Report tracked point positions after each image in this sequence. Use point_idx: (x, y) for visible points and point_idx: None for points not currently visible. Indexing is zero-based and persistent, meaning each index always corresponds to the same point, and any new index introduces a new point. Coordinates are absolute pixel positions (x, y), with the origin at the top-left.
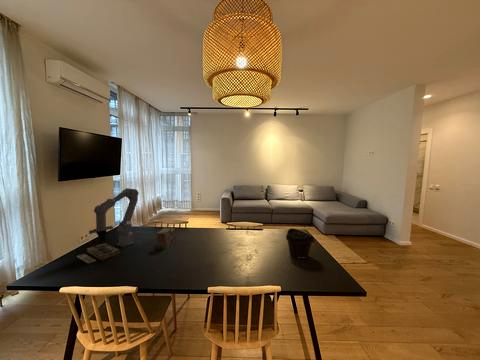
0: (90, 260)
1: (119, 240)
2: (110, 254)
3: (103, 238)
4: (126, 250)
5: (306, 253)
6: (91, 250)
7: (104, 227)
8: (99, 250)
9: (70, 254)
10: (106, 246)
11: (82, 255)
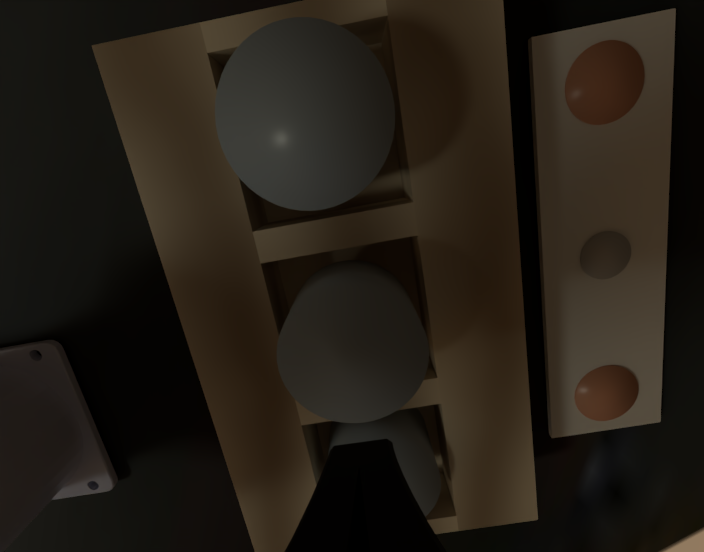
0: (604, 97)
1: (10, 492)
2: None
3: (323, 511)
4: (14, 145)
5: None
6: (522, 390)
7: None
8: None
9: (666, 532)
10: (293, 306)
11: (601, 391)
